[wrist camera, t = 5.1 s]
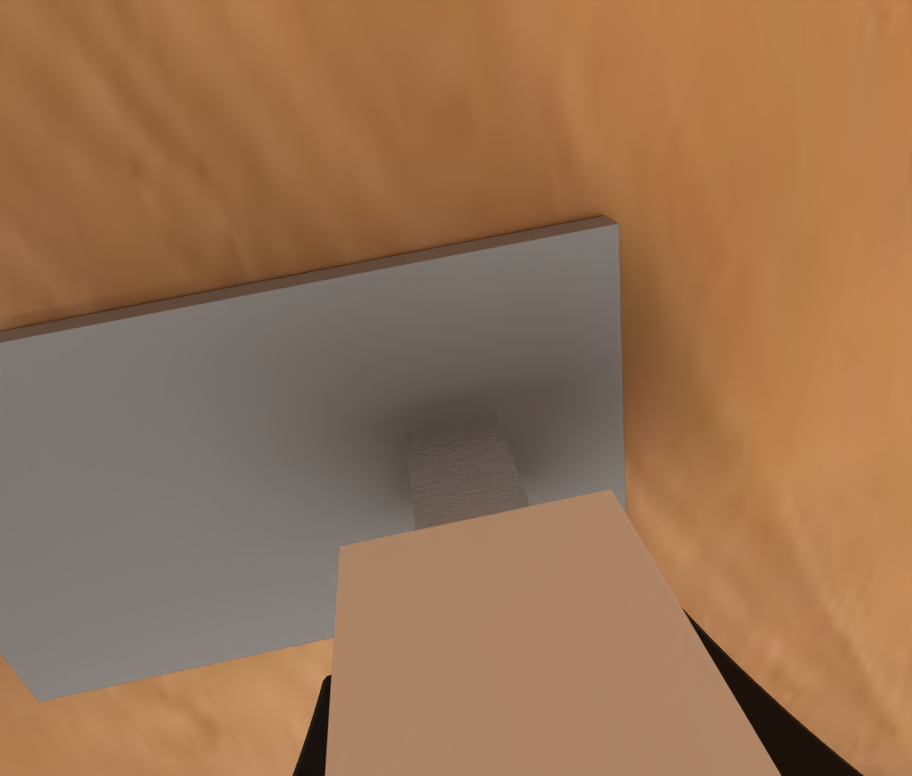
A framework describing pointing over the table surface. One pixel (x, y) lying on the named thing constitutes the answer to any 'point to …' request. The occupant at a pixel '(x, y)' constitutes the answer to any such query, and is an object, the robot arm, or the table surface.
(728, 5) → the table surface
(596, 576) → the peach bevelled cube
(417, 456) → the post
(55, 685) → the board
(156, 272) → the table surface
